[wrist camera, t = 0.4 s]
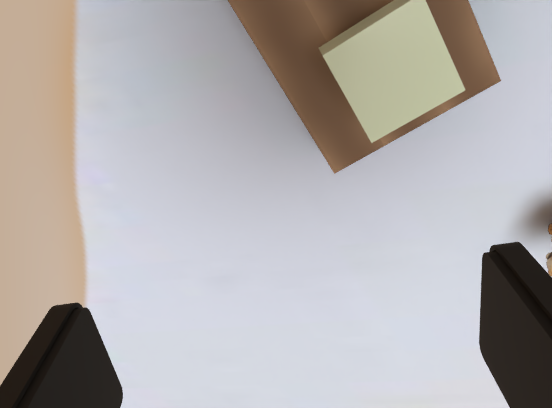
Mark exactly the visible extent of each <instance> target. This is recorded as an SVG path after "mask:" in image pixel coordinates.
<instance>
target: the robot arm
mask: <svg viewBox="0 0 552 408" xmlns="http://www.w3.org/2000/svg"><path fill="white" fill-rule="evenodd" d="M479 344H480V350H481V353H482V356H483V358H484V360H485V362H486V364H487V366H488V368H489V370H490V371H491V373H492V375H493V377H494V379H495V381H496V383H497V384H498V386H499V388H500V390H501V392H502V394H503V396H504V397H505V399H506V401H507V403H508V405H509V407H510V408H552V278H551V276H550V275H549V274H548V273H547V272H546V271H545V270H544V269H543V267H542V266H541V265H540V264H539V263H538V262H537V261H536V260H535V259H534V257H533V256H532V255H531V254H530V253H529V252H528V251H527V250H526V248H525V247H524V246H523V245H522V244H521V243H519V242H513V243H506V244H498V245H493V246H491V248H490V252H487V253H484V254H483V257H482V280H481V308H480V336H479ZM122 398H123V392H122V387H121V384H120V382H119V379H118V377H117V375H116V372H115V370H114V367H113V365H112V363H111V360H110V358H109V355H108V353H107V351H106V348H105V346H104V343H103V341H102V339H101V336H100V334H99V332H98V329H97V327H96V324H95V322H94V320H93V317H92V315H91V312H90V311H89V309H88V308H83V307H82V305H80V304H79V303H70V304H63V305H56V306H53V307H52V308H51V309H50V310H49V311H48V313H47V315H46V316H45V318H44V319H43V321H42V322H41V324H40V325H39V327H38V329H37V330H36V332H35V333H34V335H33V336H32V338H31V339H30V341H29V342H28V344H27V345H26V347H25V349H24V350H23V352H22V353H21V355H20V356H19V358H18V360H17V361H16V362H15V364H14V366H13V367H12V369H11V370H10V372H9V373H8V375H7V376H6V378H5V380H4V381H3V383H2V384H1V386H0V408H120V406H121V403H122Z"/></svg>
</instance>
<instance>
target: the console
mask: <svg viewBox="0 0 552 408" xmlns="http://www.w3.org/2000/svg"><path fill="white" fill-rule="evenodd" d="M392 1H393V0H228V2H229V3H230V5H231V7H232V8H233V10H234V11H235V13H236V15H237V16H238V18H239V20H240V21H241V23H242V24H243V26H244V28H245V29H246V31H247V33H248V34H249V36H250V37H251V39H252V41H253V42H254V44H255V45H256V47H257V49H258V50H259V52H260V54H261V55H262V57H263V58H264V60H265V62H266V63H267V65H268V67H269V68H270V70H271V71H272V73H273V75H274V76H275V78H276V80H277V81H278V83H279V84H280V86H281V88H282V89H283V91H284V92H285V94H286V96H287V97H288V99H289V101H290V102H291V104H292V105H293V107H294V109H295V110H296V112H297V114H298V115H299V117H300V118H301V120H302V122H303V123H304V125H305V127H306V128H307V130H308V131H309V133H310V135H311V136H312V138H313V140H314V141H315V143H316V144H317V146H318V148H319V149H320V151H321V152H322V154H323V156H324V157H325V159H326V161H327V162H328V164H329V165H330V167H331V169H332V170H333V172H334V174H335V173H336V172H338V171H340V170H342V169H344V168H345V167H347V166H349V165H351V164H353V163H354V162H356V161H358V160H360V159H362V158H363V157H365V156H367V155H369V154H371V153H372V152H374V151H376V150H378V149H379V148H381V147H383V146H385V145H387V144H388V143H390V142H392V141H394V140H396V139H397V138H399V137H401V136H403V135H405V134H406V133H408V132H410V131H412V130H414V129H415V128H417V127H419V126H421V125H423V124H424V123H426V122H428V121H430V120H432V119H433V118H435V117H437V116H439V115H440V114H442V113H444V112H446V111H448V110H449V109H451V108H453V107H455V106H457V105H458V104H460V103H462V102H464V101H466V100H467V99H469V98H471V97H473V96H475V95H476V94H478V93H480V92H482V91H484V90H485V89H487V88H489V87H491V86H493V85H494V84H496V83H498V82H500V81H501V80H500V77H499V75H498V72H497V70H496V67H495V65H494V62H493V60H492V58H491V55H490V53H489V50H488V48H487V45H486V43H485V40H484V38H483V35H482V33H481V31H480V28H479V26H478V23H477V21H476V18H475V16H474V13H473V11H472V8H471V6H470V4H469V1H468V0H426V2H427V5H428V7H429V9H430V11H431V14H432V16H433V18H434V20H435V23H436V25H437V27H438V29H439V32H440V34H441V36H442V38H443V41H444V43H445V45H446V47H447V50H448V52H449V54H450V56H451V59H452V61H453V63H454V65H455V68H456V70H457V72H458V74H459V77H460V79H461V81H462V83H463V86H464V88H465V91H463V92H462V93H460V94H458V95H456V96H454V97H453V98H451V99H449V100H447V101H446V102H444V103H442V104H440V105H438V106H437V107H435V108H433V109H431V110H430V111H428V112H426V113H424V114H422V115H421V116H419V117H417V118H415V119H414V120H412V121H410V122H408V123H406V124H405V125H403V126H401V127H399V128H398V129H396V130H394V131H392V132H390V133H389V134H387V135H385V136H383V137H382V138H380V139H378V140H376V141H374V142H373V143H371V141H370V139H369V138H368V136H367V134H366V132H365V131H364V129H363V127H362V125H361V123H360V122H359V120H358V118H357V116H356V114H355V113H354V111H353V109H352V107H351V106H350V104H349V102H348V100H347V98H346V97H345V95H344V93H343V91H342V90H341V88H340V86H339V84H338V82H337V81H336V79H335V77H334V75H333V74H332V72H331V70H330V68H329V66H328V65H327V63H326V61H325V59H324V57H323V56H322V54H321V52H320V50H319V47H321V46H322V45H324V44H325V43H327V42H329V41H330V40H332V39H333V38H335V37H336V36H338V35H340V34H341V33H343V32H344V31H346V30H348V29H349V28H351V27H352V26H354V25H355V24H357V23H359V22H360V21H362V20H363V19H365V18H366V17H368V16H370V15H371V14H373V13H374V12H376V11H378V10H379V9H381V8H382V7H384V6H385V5H387V4H389V3H390V2H392Z"/></svg>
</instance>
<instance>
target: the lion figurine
mask: <svg viewBox="0 0 552 408" xmlns="http://www.w3.org/2000/svg"><path fill="white" fill-rule="evenodd" d="M548 231H549V234H551V235H552V223H551V224H550V225H549V228H548ZM551 241H552V239H551ZM546 258H547V262H546V263H547V268H548V273H549V275H550V276H552V252H551V253H548V254H547V255H546Z"/></svg>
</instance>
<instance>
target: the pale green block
mask: <svg viewBox="0 0 552 408" xmlns="http://www.w3.org/2000/svg"><path fill="white" fill-rule="evenodd" d="M319 50H320V52H321V54H322V56H323V57H324V59H325V61H326V63H327V65H328V66H329V68H330V70H331V72H332V74H333V75H334V77H335V79H336V81H337V82H338V84H339V86H340V88H341V90H342V91H343V93H344V95H345V97H346V98H347V100H348V102H349V104H350V106H351V107H352V109H353V111H354V113H355V114H356V116H357V118H358V120H359V122H360V123H361V125H362V127H363V129H364V131H365V132H366V134H367V136H368V138H369V139H370V141H371V143H373V142H374V141H376V140H378V139H380V138H382V137H383V136H385V135H387V134H389V133H390V132H392V131H394V130H396V129H398V128H399V127H401V126H403V125H405V124H406V123H408V122H410V121H412V120H414V119H415V118H417V117H419V116H421V115H422V114H424V113H426V112H428V111H430V110H431V109H433V108H435V107H437V106H438V105H440V104H442V103H444V102H446V101H447V100H449V99H451V98H453V97H454V96H456V95H458V94H460V93H462V92H463V91H465V88H464V86H463V83H462V81H461V79H460V77H459V74H458V72H457V70H456V68H455V65H454V63H453V61H452V59H451V56H450V54H449V52H448V50H447V47H446V45H445V43H444V41H443V38H442V36H441V34H440V32H439V29H438V27H437V25H436V23H435V20H434V18H433V16H432V14H431V11H430V9H429V7H428V5H427V2H426V0H393V1H392V2H390V3H389V4H387V5H385V6H384V7H382V8H381V9H379V10H378V11H376V12H374V13H373V14H371V15H370V16H368V17H366V18H365V19H363V20H362V21H360V22H359V23H357V24H355V25H354V26H352V27H351V28H349V29H348V30H346V31H344V32H343V33H341V34H340V35H338V36H336V37H335V38H333V39H332V40H330V41H329V42H327V43H325V44H324V45H322V46H321V47H319Z"/></svg>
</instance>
